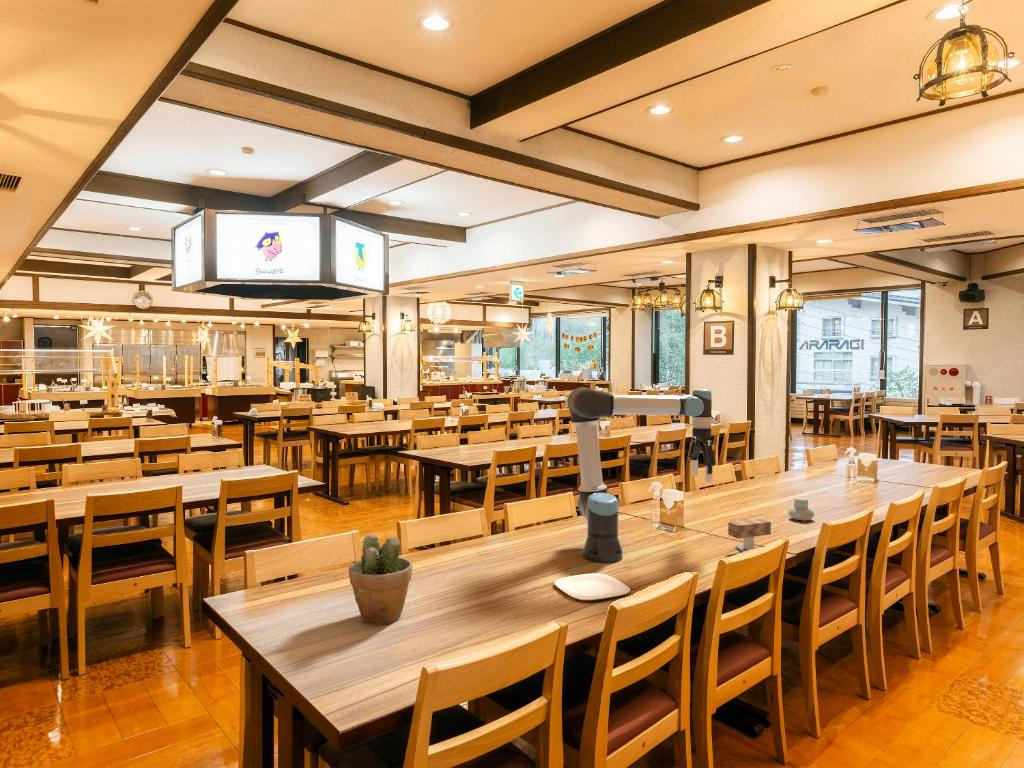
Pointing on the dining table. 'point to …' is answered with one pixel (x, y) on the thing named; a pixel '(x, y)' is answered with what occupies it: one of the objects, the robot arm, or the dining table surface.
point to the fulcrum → (746, 544)
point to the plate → (591, 587)
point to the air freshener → (801, 510)
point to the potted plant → (380, 581)
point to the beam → (749, 528)
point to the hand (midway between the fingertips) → (701, 478)
